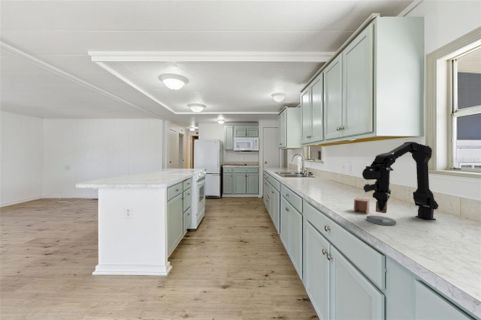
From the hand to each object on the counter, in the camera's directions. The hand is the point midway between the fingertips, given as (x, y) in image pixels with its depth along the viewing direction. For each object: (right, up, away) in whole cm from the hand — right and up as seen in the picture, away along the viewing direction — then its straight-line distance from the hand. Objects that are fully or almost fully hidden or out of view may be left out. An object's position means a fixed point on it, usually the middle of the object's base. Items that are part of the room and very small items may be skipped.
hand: (381, 209), depth 116 cm
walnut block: (0, -1, 0) cm, 1 cm away
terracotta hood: (0, -5, +18) cm, 19 cm away
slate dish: (0, -6, 0) cm, 6 cm away
